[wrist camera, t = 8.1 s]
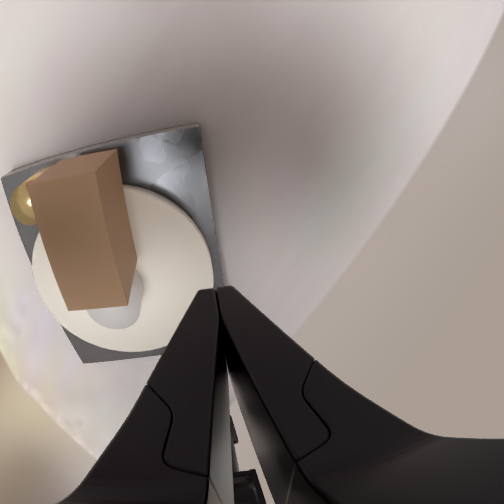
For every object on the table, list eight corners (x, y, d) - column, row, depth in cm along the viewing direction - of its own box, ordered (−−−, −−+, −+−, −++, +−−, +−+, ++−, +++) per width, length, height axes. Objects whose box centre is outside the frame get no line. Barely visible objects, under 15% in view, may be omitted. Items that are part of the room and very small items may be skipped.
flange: (199, 133, 15) (204, 156, 11) (219, 330, 22) (229, 390, 17) (9, 169, 14) (-40, 204, 9) (72, 343, 20) (57, 400, 16)
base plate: (231, 329, 24) (234, 342, 23) (86, 349, 23) (83, 363, 22) (198, 122, 17) (199, 126, 15) (11, 170, 15) (0, 178, 14)
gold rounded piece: (72, 194, 16) (50, 220, 13) (43, 202, 15) (18, 229, 12) (63, 160, 15) (37, 179, 12) (33, 169, 14) (5, 190, 11)
